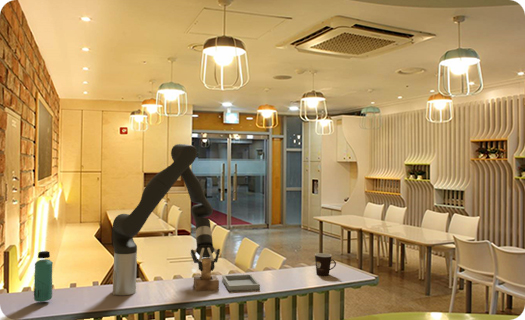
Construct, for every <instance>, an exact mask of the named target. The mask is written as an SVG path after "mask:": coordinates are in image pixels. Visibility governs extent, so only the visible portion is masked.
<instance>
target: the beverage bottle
mask: <svg viewBox="0 0 525 320" xmlns="http://www.w3.org/2000/svg"><path fill="white" fill-rule="evenodd" d="M37 255H38V256H37V258H38V259H39V260H37V261H36V262H35V263H34V273H33V274H34V275H33V276H34V285H33V286H34V287H33V299H34V301H35V302H46V301H50V300H51V299H52V298H53V264H54V263H53V261H52V260H50V259H48V258H50V257H51V256H50V255H51V254H50V251H47V250H44V251H43V250H42V251H39V252H38V254H37Z"/></svg>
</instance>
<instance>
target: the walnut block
mask: <svg viewBox="0 0 525 320" xmlns="http://www.w3.org/2000/svg"><path fill="white" fill-rule="evenodd" d="M193 287H194V290H195V291H196V292H202V291H219V289H220V288H219V287H220V280H219V279H218V277H217V274H211V280H201V274H198V275H193Z"/></svg>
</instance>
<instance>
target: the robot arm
mask: <svg viewBox="0 0 525 320" xmlns="http://www.w3.org/2000/svg"><path fill="white" fill-rule="evenodd" d="M197 155H198V151H197V148H196V147H195V146H194V145H192V144H186V143H176V144H174V146H172V148H171V151H170V156H171V158H172V161H173V162H172V163H171V164H170V165H169V166H167V167H166V168H164V169H162V170H161V171H159V172H158V173H156V174H155V175H154V176H153V177H152V178H151V179H150V180H149V182H148V183H147V185H146V186H145V187H144V189H143V192H142V194H141V198H140V201H139V202H138V204H137V205H136V207H135V208H134V209H133V210H132V212H131V213H120V214H118V215H117V216H116V217H115V218H114V219H113V222H112V230H111V231H112V233H111V234H112V236H111V237H112V246H113V251H114V252H113V253H114V254H113V272H112V295H113V296H129V295H134V294H135V293H136V291H137V290H136V289H137V262H138V261H137V259H138V255H137V254H138V246H137V244H136V242H135V240H134V237H135V236H137V235H138V234H139V233H140V231H141V230H142V228H143V226H144V225H145V224H146V222H147V220H148V219H149V217H150V215H151V214H152V212H154V210H155V209H156V208H157V207H158V205H159V204H160V202H162V200H163V199H164V197H165V196H166V195H167V193H169V191H170V190H171V188H172V187H173V186H174V185H175V183H176V182H177V181H178V180H179V178H180V177H181V178H182V179H183V183H184V185H185V188H186V189H187V192H188V195H189V196H188V197H189V200H190V201H191V202H192V203H199V204H194V205H192V207H191V209H190V213H191V215H192V217H193V219H194V223H195V242H196V248H195V249H190V256H191V258H192V261H193V262H194V264H197V265H198V270H199V271H200V272H201V271H202V258H211V272H213V271H214V269H215V268H216V267H215V263H218V259H219V257H220V251H221V249H220V248H218V249H217V248H215V247H214V244H213V243H214V242H213V234H212V226H211V221H210V219H209V218H208V217H210V216H212V215H213V212H214V209H213V206H212V205H211V202H209V201H208V200H209V199H207V198H206V194H205V193H204V189H203V186H202V184H201V182H200V181H199V178H198V177H197V176H196V175H195V174H194V172H193V171H192V169H191V165H192V164H193V163H194V162H195V160H196V159H197ZM213 253H214V254H215V258H214V254H213ZM196 254H197V255H199V257H198V258H197V256H196Z"/></svg>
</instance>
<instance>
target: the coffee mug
mask: <svg viewBox="0 0 525 320" xmlns="http://www.w3.org/2000/svg"><path fill="white" fill-rule="evenodd" d="M314 258H315V259H314V262H315V272H316V276H319V277H327V276H328V277H329V275H330V270H333V269H334V268H335V267H336V266H337V262H336V260H334V259H332V254H331V253H324V252H319V253H318V252H317V253H314ZM332 262H333V263H334V265H333V266H332V267H331V264H332Z"/></svg>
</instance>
